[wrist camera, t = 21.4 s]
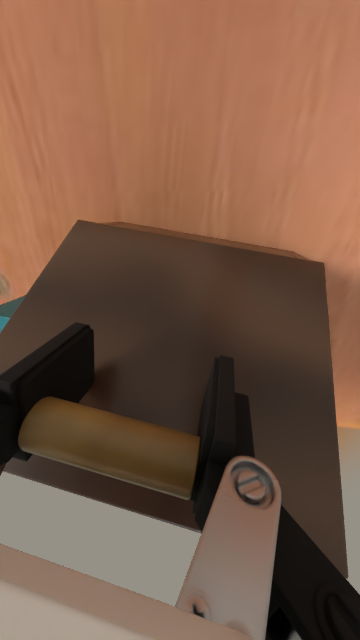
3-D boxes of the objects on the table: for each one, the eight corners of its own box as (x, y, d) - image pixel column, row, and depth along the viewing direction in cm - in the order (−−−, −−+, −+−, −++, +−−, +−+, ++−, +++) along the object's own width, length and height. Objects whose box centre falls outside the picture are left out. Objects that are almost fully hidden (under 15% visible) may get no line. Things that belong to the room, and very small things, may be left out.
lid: (335, 570, 9) (475, 673, 5) (-62, 446, 10) (-214, 441, 6) (318, 270, 15) (367, 206, 11) (81, 228, 17) (52, 160, 13)
